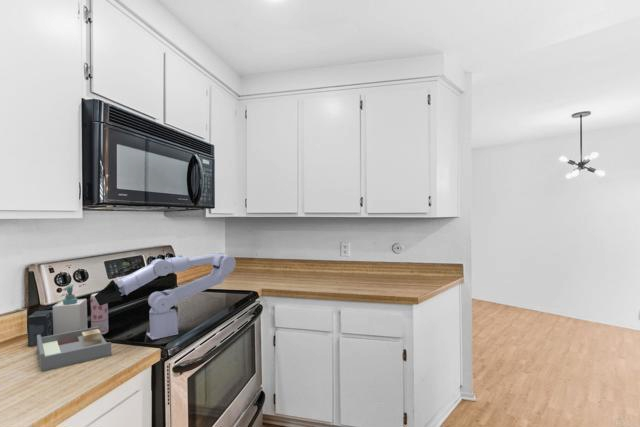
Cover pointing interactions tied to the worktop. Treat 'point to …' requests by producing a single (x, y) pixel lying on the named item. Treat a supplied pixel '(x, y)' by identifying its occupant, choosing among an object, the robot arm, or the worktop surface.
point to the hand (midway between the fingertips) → (97, 301)
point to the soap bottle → (69, 313)
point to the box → (39, 325)
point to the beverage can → (99, 315)
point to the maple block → (91, 337)
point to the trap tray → (68, 349)
